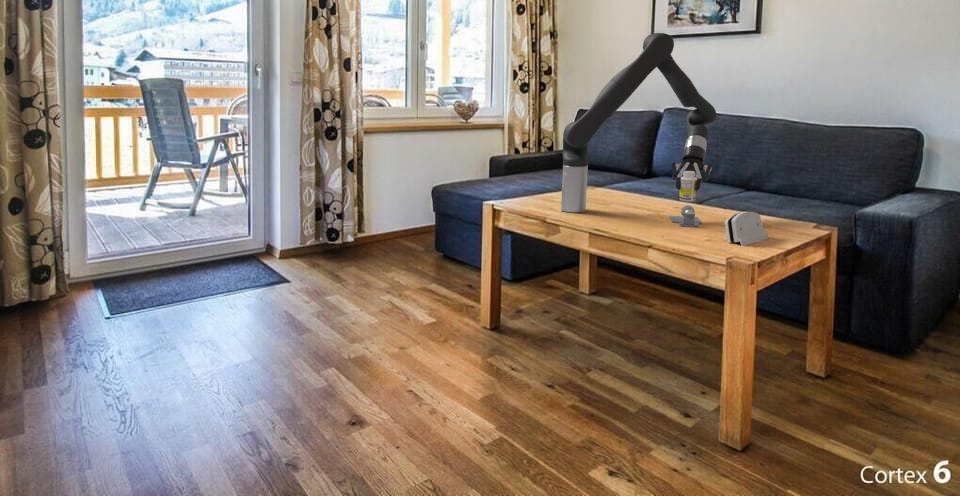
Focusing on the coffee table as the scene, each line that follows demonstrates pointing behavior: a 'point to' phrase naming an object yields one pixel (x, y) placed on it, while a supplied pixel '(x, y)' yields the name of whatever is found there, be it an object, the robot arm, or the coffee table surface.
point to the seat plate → (681, 219)
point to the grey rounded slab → (745, 228)
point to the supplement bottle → (688, 186)
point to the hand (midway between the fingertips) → (687, 188)
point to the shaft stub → (688, 217)
